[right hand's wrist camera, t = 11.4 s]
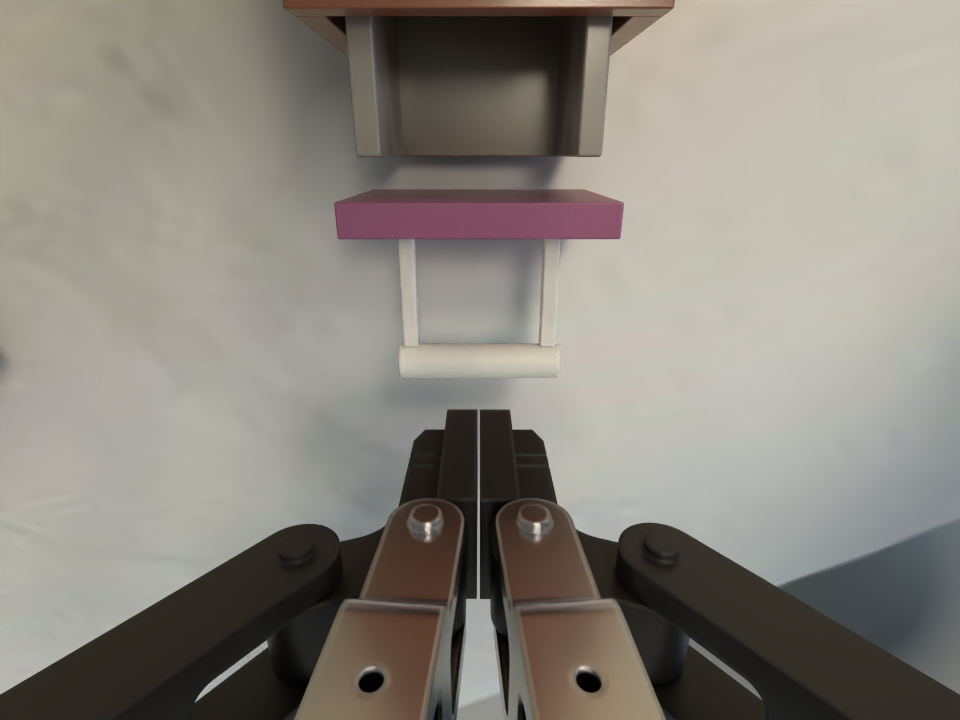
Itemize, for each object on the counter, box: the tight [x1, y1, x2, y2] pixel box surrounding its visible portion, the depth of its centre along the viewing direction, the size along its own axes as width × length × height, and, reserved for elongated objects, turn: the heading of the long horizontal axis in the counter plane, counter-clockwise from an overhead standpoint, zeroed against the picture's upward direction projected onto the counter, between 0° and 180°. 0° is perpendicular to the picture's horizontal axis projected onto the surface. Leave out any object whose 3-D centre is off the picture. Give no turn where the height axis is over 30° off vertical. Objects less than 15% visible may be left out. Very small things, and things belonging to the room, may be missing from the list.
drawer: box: [334, 16, 624, 378], centre depth 20 cm, size 18×10×7 cm, turn 0°
